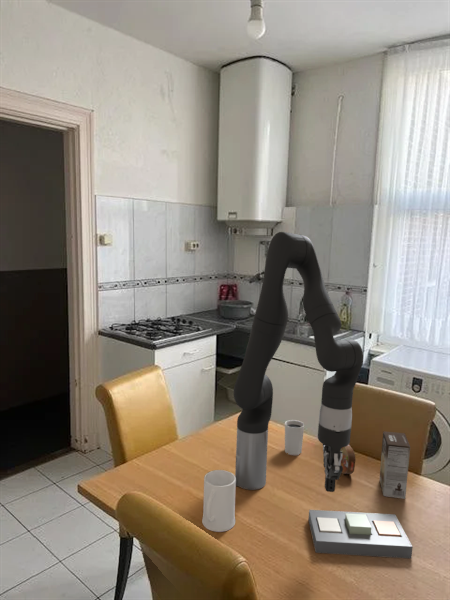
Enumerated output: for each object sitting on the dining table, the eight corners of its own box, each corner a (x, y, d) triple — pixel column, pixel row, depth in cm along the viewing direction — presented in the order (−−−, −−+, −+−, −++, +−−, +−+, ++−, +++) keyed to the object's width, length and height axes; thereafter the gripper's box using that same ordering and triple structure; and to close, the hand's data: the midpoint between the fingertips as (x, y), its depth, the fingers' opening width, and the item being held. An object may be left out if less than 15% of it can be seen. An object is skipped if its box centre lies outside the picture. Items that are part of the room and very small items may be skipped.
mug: (219, 544, 104) (220, 497, 102) (189, 532, 107) (189, 487, 106) (240, 517, 114) (242, 474, 112) (212, 507, 118) (213, 466, 116)
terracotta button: (378, 545, 104) (379, 533, 104) (372, 532, 109) (373, 520, 109) (399, 547, 104) (400, 534, 104) (392, 533, 109) (393, 521, 109)
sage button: (349, 538, 104) (350, 526, 104) (344, 525, 109) (345, 513, 109) (370, 539, 104) (371, 527, 104) (364, 526, 109) (365, 514, 109)
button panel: (315, 552, 102) (316, 540, 101) (308, 520, 114) (309, 509, 113) (411, 558, 101) (412, 546, 100) (394, 525, 112) (395, 514, 112)
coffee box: (378, 479, 134) (382, 430, 132) (400, 482, 133) (404, 432, 131) (383, 496, 125) (387, 443, 123) (406, 499, 124) (411, 446, 122)
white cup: (304, 456, 148) (305, 428, 146) (284, 455, 148) (286, 427, 147) (301, 447, 154) (302, 420, 153) (282, 446, 154) (283, 419, 153)
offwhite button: (319, 542, 105) (320, 530, 105) (316, 529, 110) (317, 517, 110) (340, 543, 105) (341, 531, 104) (336, 530, 110) (337, 518, 109)
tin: (330, 455, 149) (331, 432, 148) (339, 455, 149) (340, 432, 148) (346, 479, 134) (347, 453, 133) (355, 479, 134) (357, 453, 133)
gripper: (315, 410, 110) (310, 474, 112) (323, 433, 97) (318, 505, 99) (345, 412, 110) (339, 476, 112) (357, 435, 97) (351, 507, 99)
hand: (329, 490), depth 106 cm, fingers closed
